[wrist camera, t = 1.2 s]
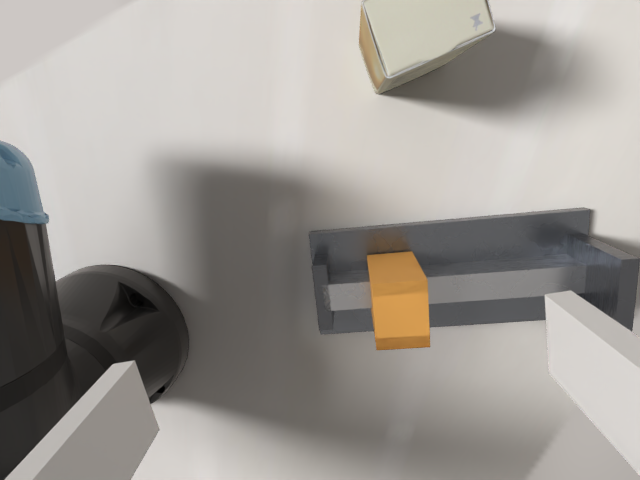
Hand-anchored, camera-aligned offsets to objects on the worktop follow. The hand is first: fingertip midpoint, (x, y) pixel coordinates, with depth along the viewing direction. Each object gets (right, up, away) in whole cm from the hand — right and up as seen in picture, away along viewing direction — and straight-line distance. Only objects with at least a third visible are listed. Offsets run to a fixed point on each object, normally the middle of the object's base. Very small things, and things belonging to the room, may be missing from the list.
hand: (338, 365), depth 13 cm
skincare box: (+6, +19, +20) cm, 28 cm away
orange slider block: (+6, 0, +24) cm, 24 cm away
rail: (+11, +1, +24) cm, 27 cm away
